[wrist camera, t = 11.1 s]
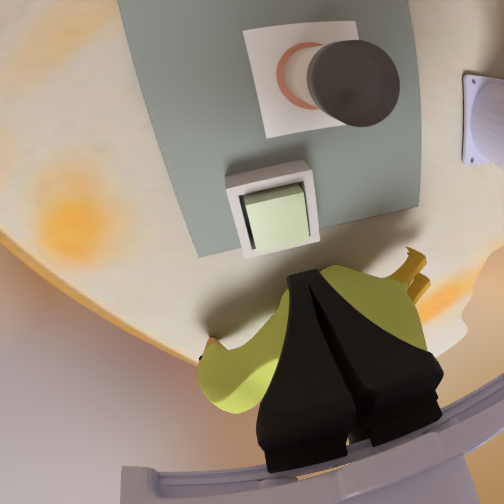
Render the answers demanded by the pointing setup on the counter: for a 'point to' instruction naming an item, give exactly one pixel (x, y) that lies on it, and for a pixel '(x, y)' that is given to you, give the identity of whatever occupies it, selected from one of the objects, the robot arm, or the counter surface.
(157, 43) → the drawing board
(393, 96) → the jar with dark lid
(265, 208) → the button
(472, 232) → the counter surface
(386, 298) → the toy
